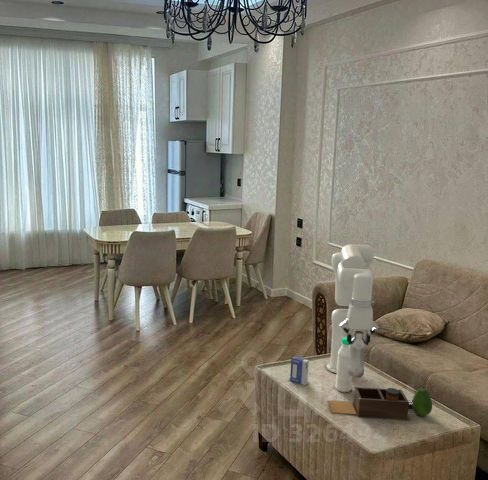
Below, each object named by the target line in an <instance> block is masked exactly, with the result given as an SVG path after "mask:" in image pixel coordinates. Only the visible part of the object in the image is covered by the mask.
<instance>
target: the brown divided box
mask: <svg viewBox="0 0 488 480" xmlns="http://www.w3.org/2000/svg"><path fill="white" fill-rule="evenodd" d="M353 389H354V390H353V401H352V404H353V407H354V409H355V412H356V415H357V416H358V417H359V418H374V419H375V418H376V419H391V420H408V417H409V407H410V406H409V405H410V401H409V399H408V398H407V396H406V395H405V393H404V391H403V390H402V389H398V390H399V399H398V400H386V389H387V388H375V387H362V386H361V387H359V386H355V387H354V388H353Z"/></svg>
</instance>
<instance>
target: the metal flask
mask: <svg viewBox="0 0 488 480" xmlns="http://www.w3.org/2000/svg"><path fill="white" fill-rule="evenodd" d="M364 336H365V334H364V331H363V330H354V334H353V337H352V340H351V344H350V363H349V366H348V374H349V375H350V376H352V378H358V379H359V378H362V377H363V376H364V373H365V367H364V357H365V351H366V348H367V345H366V342H365V339H364V338H365V337H364Z"/></svg>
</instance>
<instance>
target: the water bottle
mask: <svg viewBox="0 0 488 480" xmlns="http://www.w3.org/2000/svg"><path fill="white" fill-rule="evenodd" d="M352 339H353V338H352ZM352 339H351V340H352ZM341 343H342V346H341V348H340V349H339V351H338V361H337V373H336V375H335V386H334V387H335V389H336V390H337V391H339V392H341V393H348V392H351V390H352V381H353V377H352V376H350V375H349V374H348V366H349V363H350V344H349V343H348V341H347V337H344V338H342V340H341Z"/></svg>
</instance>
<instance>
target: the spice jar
mask: <svg viewBox="0 0 488 480" xmlns="http://www.w3.org/2000/svg"><path fill="white" fill-rule="evenodd" d="M385 389H386V400H398V399H399V390H400V389H397V388H394V387H388V388H385Z"/></svg>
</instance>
